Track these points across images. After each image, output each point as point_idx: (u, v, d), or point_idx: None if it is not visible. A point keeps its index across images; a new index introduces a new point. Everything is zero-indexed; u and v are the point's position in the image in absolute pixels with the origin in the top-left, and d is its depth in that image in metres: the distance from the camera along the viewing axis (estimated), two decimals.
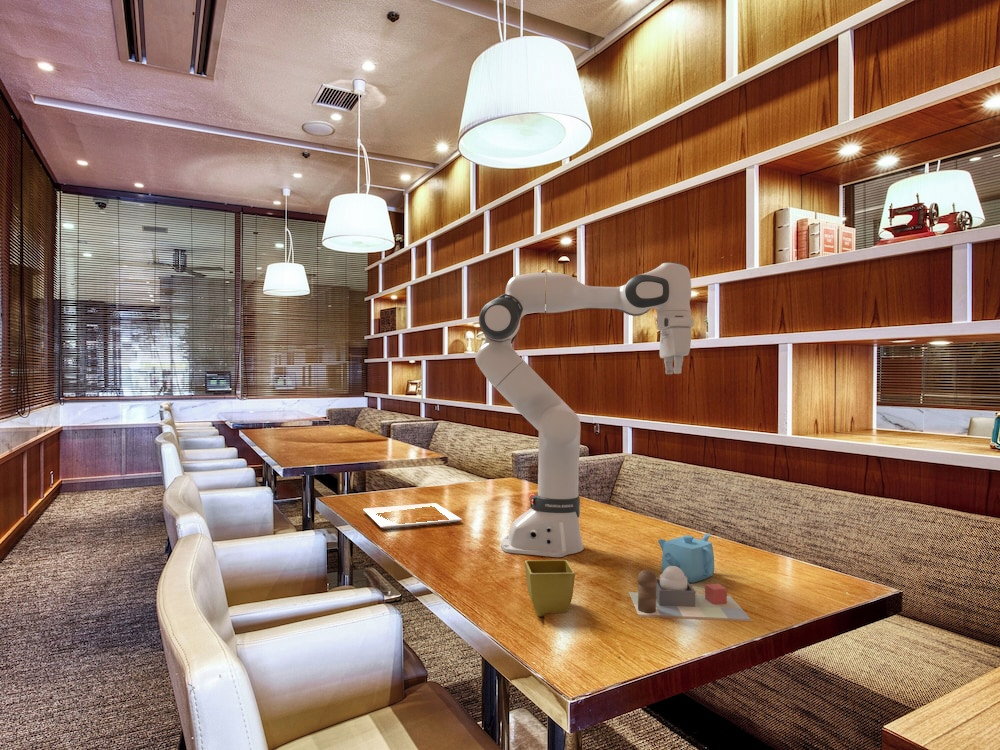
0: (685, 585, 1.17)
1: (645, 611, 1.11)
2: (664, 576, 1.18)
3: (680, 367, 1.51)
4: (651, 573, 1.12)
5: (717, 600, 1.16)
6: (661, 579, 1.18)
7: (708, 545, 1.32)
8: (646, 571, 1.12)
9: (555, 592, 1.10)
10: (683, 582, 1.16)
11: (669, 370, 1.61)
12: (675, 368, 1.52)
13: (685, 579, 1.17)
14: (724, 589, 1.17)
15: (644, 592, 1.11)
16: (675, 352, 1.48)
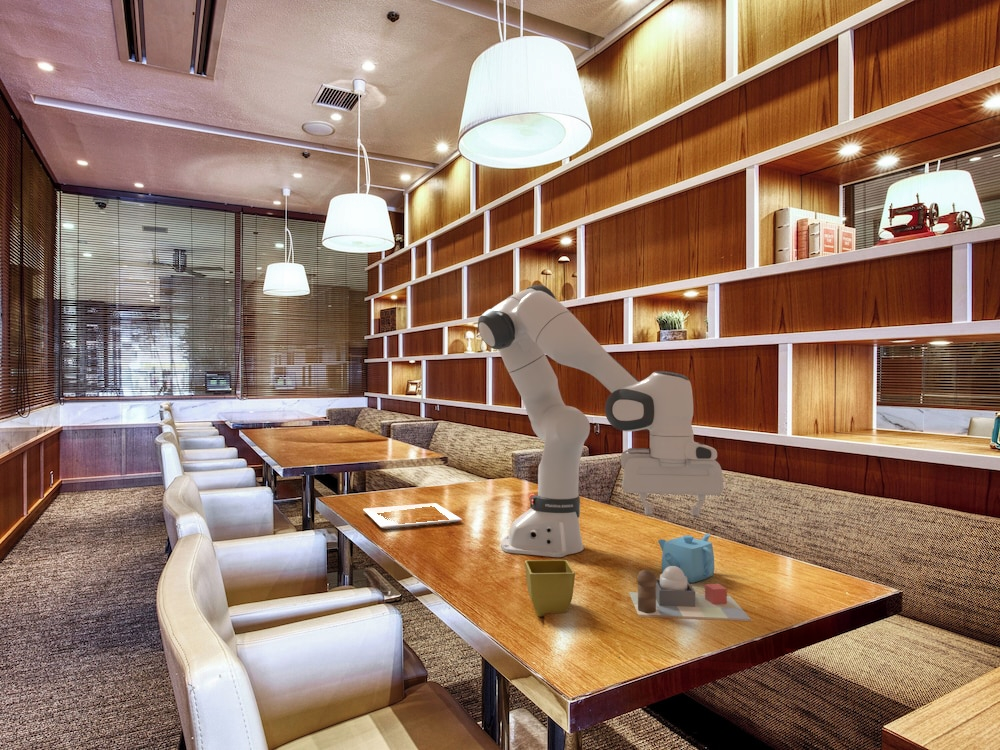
0: (685, 585, 1.17)
1: (645, 611, 1.11)
2: (664, 576, 1.18)
3: None
4: (650, 573, 1.12)
5: (717, 600, 1.16)
6: (661, 579, 1.18)
7: (708, 545, 1.32)
8: (645, 571, 1.12)
9: (555, 592, 1.10)
10: (683, 582, 1.16)
11: None
12: None
13: (685, 579, 1.17)
14: (724, 589, 1.17)
15: (644, 592, 1.11)
16: (721, 492, 1.18)
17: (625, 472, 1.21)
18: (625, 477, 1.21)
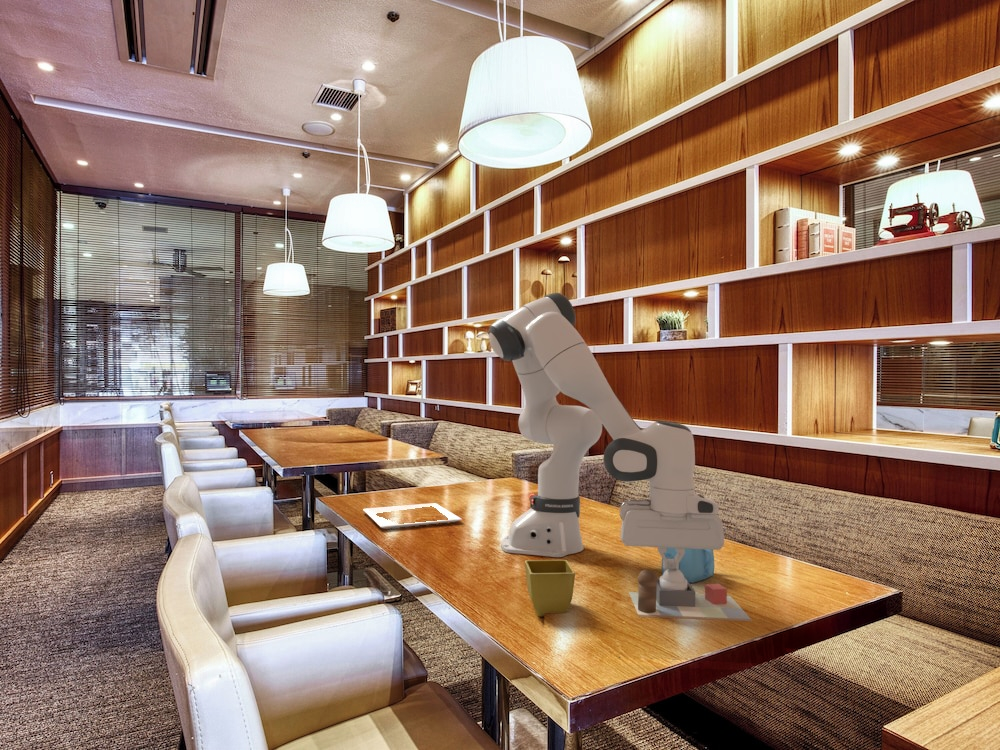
0: (685, 587, 1.17)
1: (645, 611, 1.11)
2: (664, 578, 1.18)
3: None
4: (652, 573, 1.12)
5: (717, 600, 1.16)
6: (661, 581, 1.18)
7: None
8: (646, 571, 1.13)
9: (555, 592, 1.10)
10: (683, 584, 1.16)
11: None
12: None
13: (685, 581, 1.17)
14: (724, 589, 1.17)
15: (644, 592, 1.12)
16: (721, 546, 1.16)
17: (625, 525, 1.17)
18: (625, 530, 1.17)
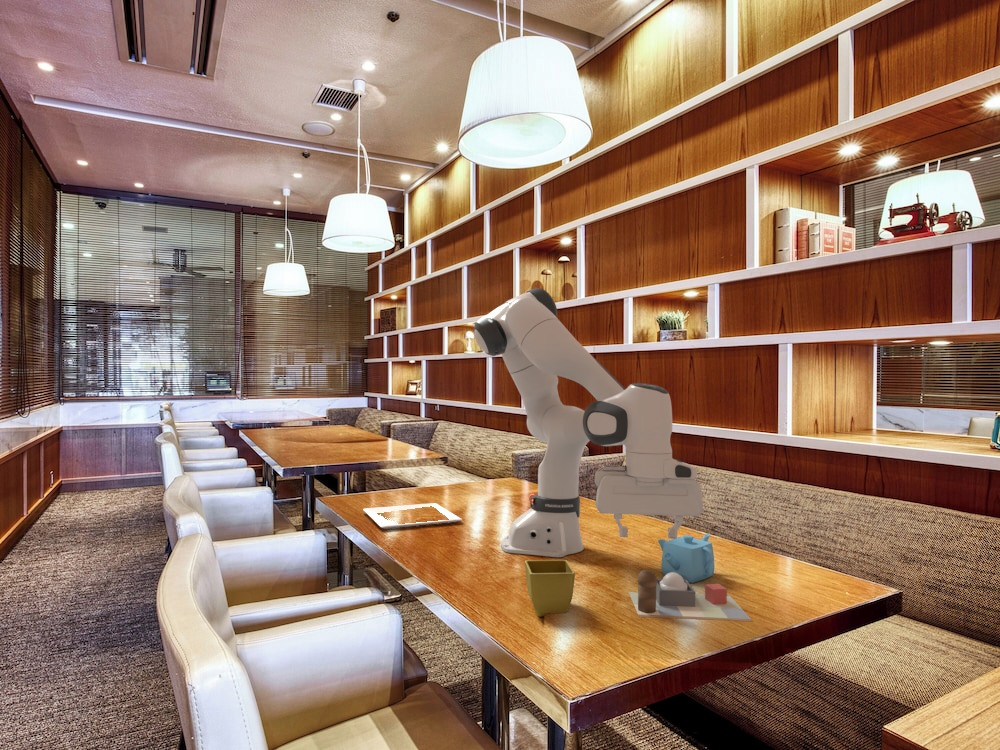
0: None
1: (644, 611, 1.11)
2: (664, 583, 1.18)
3: None
4: (651, 573, 1.12)
5: (717, 600, 1.16)
6: (661, 586, 1.18)
7: (708, 545, 1.32)
8: (645, 571, 1.12)
9: (555, 592, 1.10)
10: (683, 589, 1.16)
11: None
12: (676, 531, 1.12)
13: (685, 586, 1.17)
14: (724, 589, 1.17)
15: (644, 592, 1.11)
16: (700, 513, 1.11)
17: (599, 491, 1.12)
18: (599, 497, 1.12)
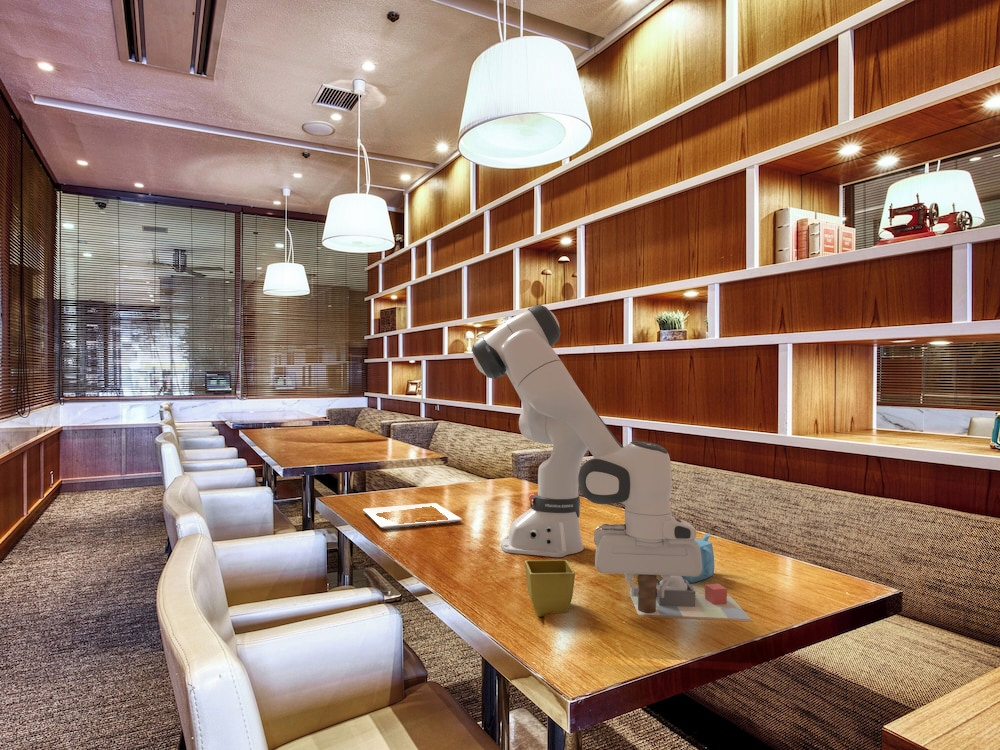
0: None
1: (644, 611, 1.11)
2: None
3: None
4: None
5: (717, 600, 1.16)
6: None
7: (708, 545, 1.32)
8: None
9: (555, 592, 1.10)
10: (683, 589, 1.16)
11: None
12: (663, 591, 1.12)
13: (685, 586, 1.17)
14: (724, 589, 1.17)
15: (643, 592, 1.11)
16: (699, 573, 1.11)
17: (599, 551, 1.12)
18: (599, 556, 1.12)
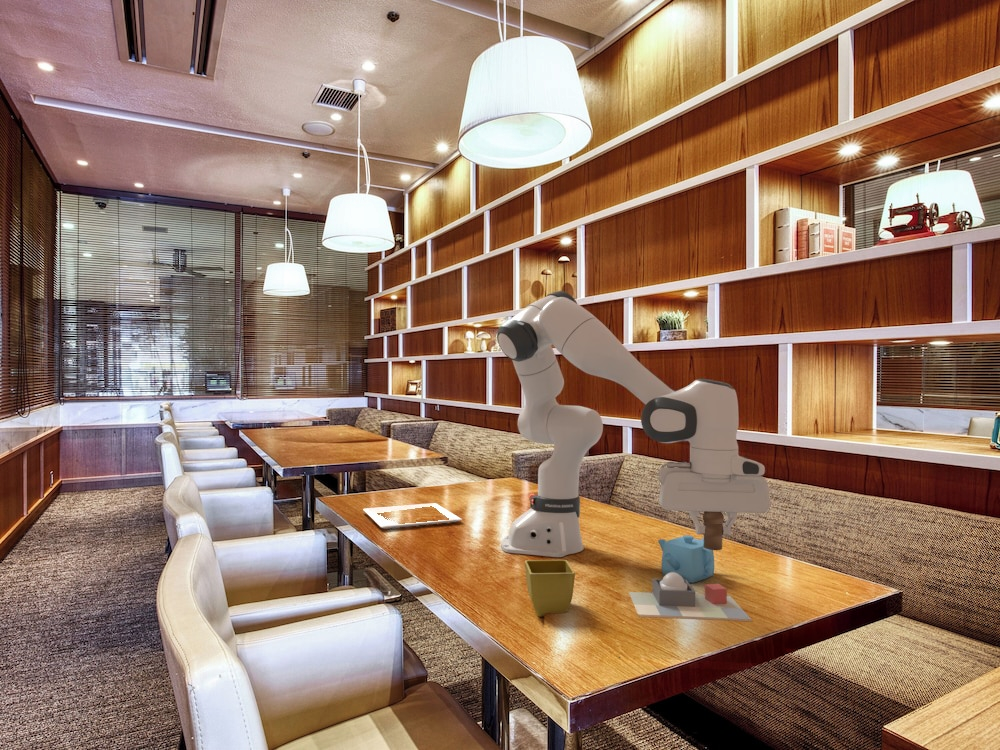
0: None
1: (711, 548, 1.11)
2: (664, 583, 1.18)
3: None
4: None
5: (717, 600, 1.16)
6: (661, 586, 1.18)
7: None
8: None
9: (555, 592, 1.10)
10: (683, 589, 1.16)
11: None
12: None
13: (685, 586, 1.17)
14: (724, 589, 1.17)
15: (710, 529, 1.11)
16: (767, 510, 1.10)
17: (665, 488, 1.11)
18: (665, 493, 1.11)
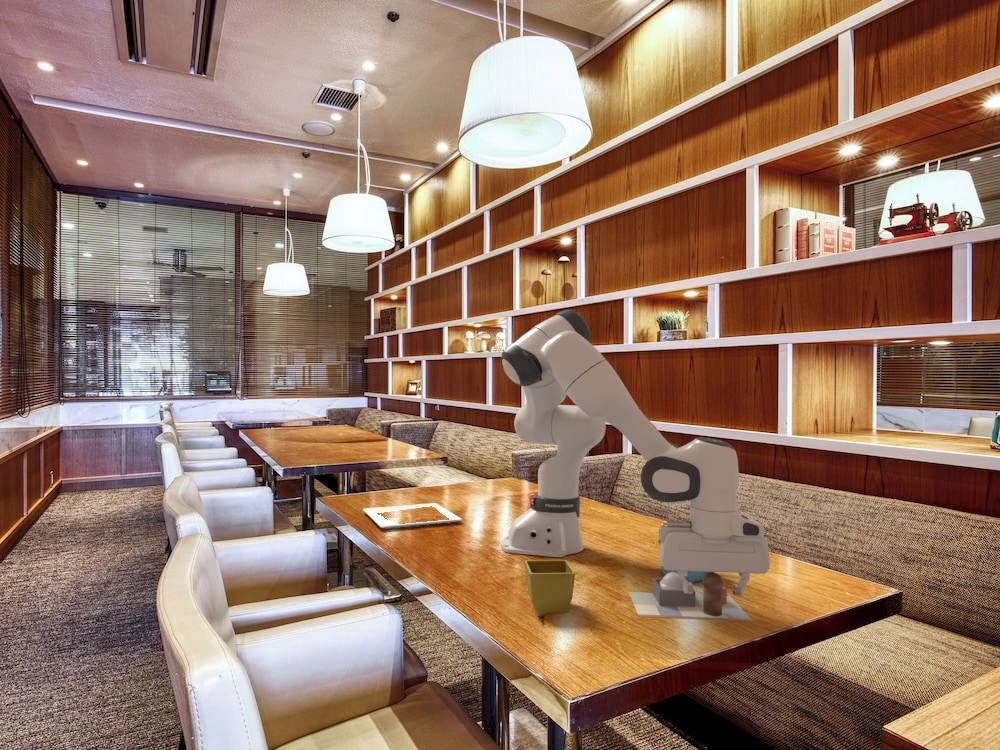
0: None
1: (711, 614, 1.10)
2: (664, 583, 1.18)
3: None
4: (717, 576, 1.11)
5: None
6: (661, 586, 1.18)
7: None
8: (711, 574, 1.12)
9: (555, 592, 1.10)
10: None
11: None
12: (742, 589, 1.11)
13: None
14: (724, 589, 1.17)
15: (710, 595, 1.11)
16: (767, 570, 1.10)
17: (665, 548, 1.11)
18: (665, 553, 1.11)
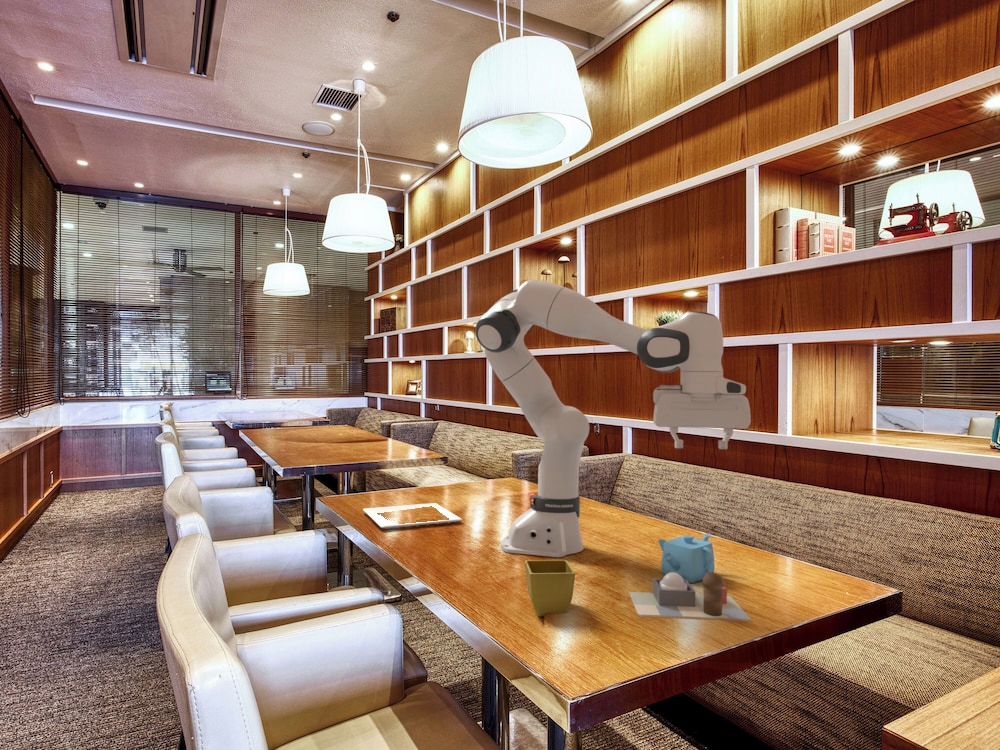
0: None
1: (711, 614, 1.10)
2: (664, 583, 1.18)
3: None
4: (717, 576, 1.11)
5: None
6: (661, 586, 1.18)
7: (708, 545, 1.32)
8: (711, 574, 1.11)
9: (555, 592, 1.10)
10: (683, 589, 1.16)
11: None
12: None
13: (685, 586, 1.17)
14: (724, 589, 1.17)
15: (710, 595, 1.10)
16: (748, 425, 1.25)
17: (658, 407, 1.26)
18: (658, 412, 1.26)
